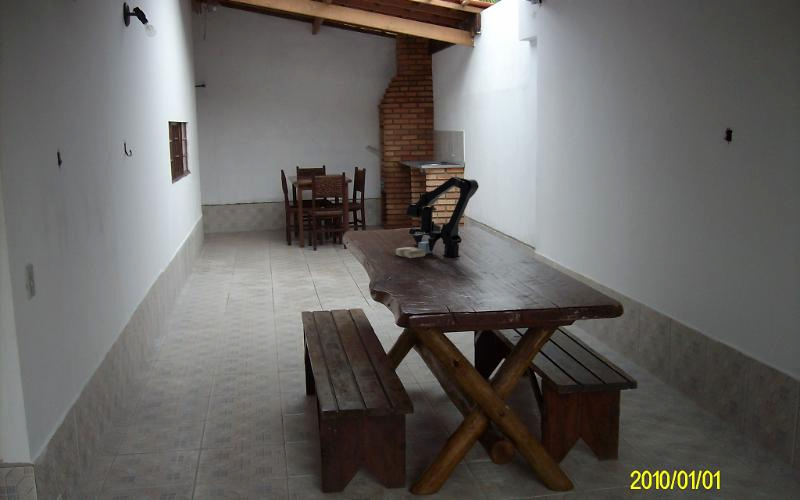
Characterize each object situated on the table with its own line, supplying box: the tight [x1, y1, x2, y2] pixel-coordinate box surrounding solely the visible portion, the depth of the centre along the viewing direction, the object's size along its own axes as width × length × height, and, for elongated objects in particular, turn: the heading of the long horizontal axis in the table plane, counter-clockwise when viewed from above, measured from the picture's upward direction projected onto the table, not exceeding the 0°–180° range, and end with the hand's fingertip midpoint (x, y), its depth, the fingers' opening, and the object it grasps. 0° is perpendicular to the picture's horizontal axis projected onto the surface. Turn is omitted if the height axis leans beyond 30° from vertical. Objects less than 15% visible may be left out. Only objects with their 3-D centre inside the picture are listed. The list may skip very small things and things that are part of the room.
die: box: [422, 232, 430, 242], centre depth 383 cm, size 8×9×10 cm
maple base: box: [395, 246, 426, 259], centre depth 352 cm, size 10×10×3 cm
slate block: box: [417, 242, 434, 255], centre depth 361 cm, size 5×5×5 cm
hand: (425, 250), depth 361 cm, fingers open, 8 cm apart
